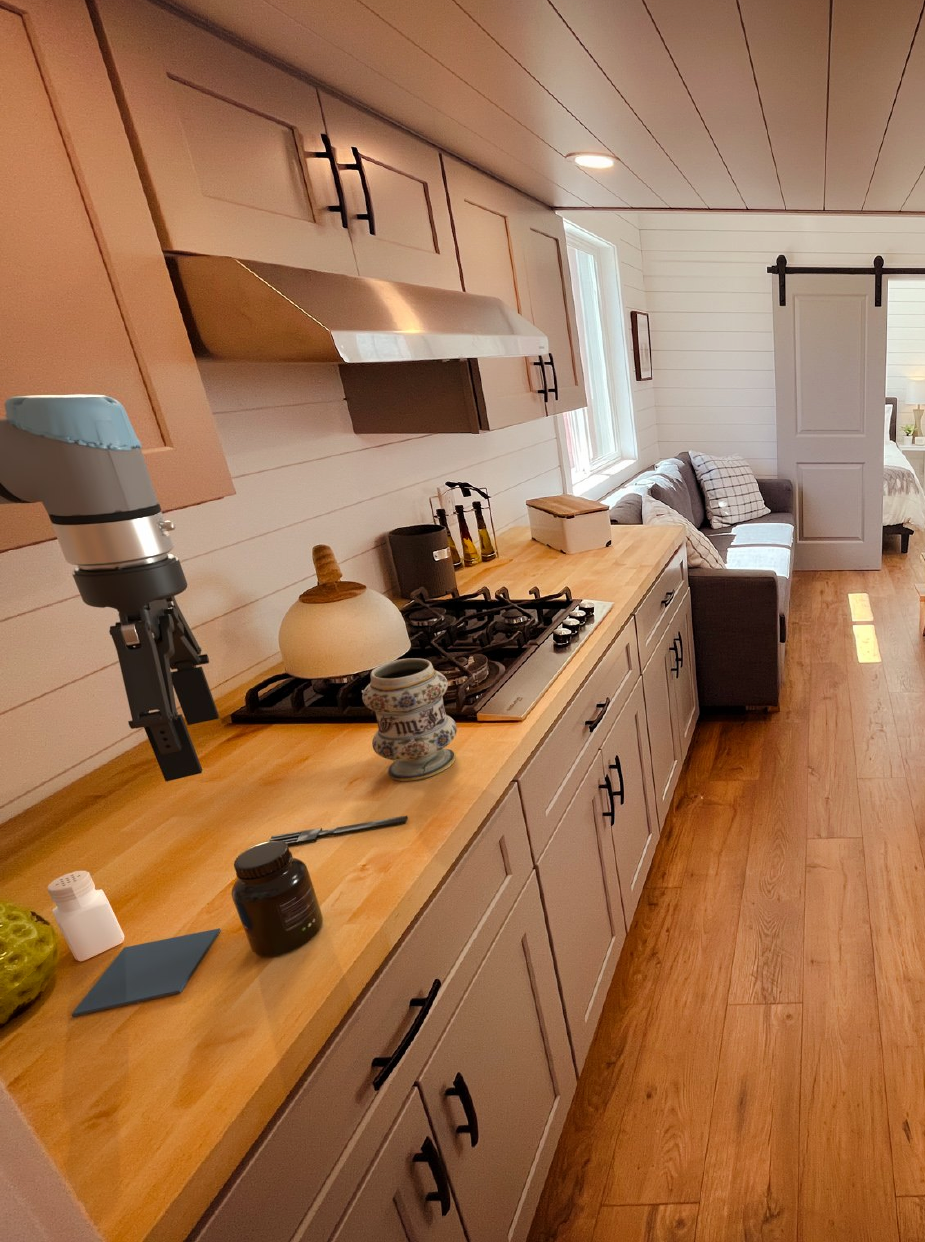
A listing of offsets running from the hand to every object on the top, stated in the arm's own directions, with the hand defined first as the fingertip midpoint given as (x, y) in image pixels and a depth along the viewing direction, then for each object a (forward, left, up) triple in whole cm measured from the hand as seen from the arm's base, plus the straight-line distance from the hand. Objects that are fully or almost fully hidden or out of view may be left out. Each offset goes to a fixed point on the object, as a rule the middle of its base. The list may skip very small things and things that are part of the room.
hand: (194, 746), depth 74 cm
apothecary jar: (+12, +32, -24) cm, 42 cm away
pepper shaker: (-16, +1, -24) cm, 29 cm away
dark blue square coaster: (-8, -5, -24) cm, 26 cm away
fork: (+5, +16, -24) cm, 29 cm away
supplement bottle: (+5, -4, -24) cm, 25 cm away
